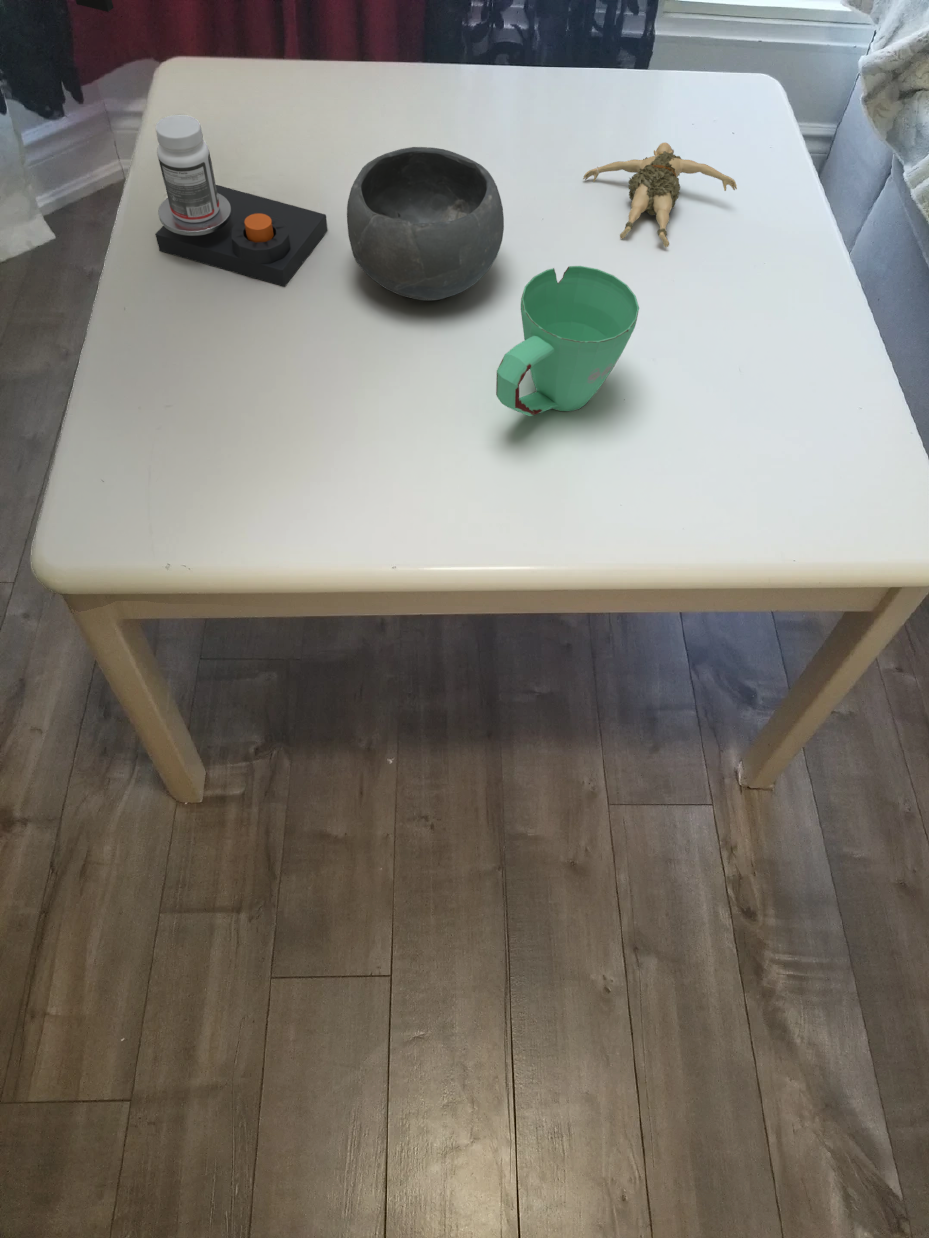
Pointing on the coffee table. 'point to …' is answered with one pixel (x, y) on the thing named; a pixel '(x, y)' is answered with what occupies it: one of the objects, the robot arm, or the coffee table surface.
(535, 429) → the coffee table surface
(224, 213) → the scale pan
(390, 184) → the bowl
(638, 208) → the figurine
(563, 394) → the mug
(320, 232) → the scale
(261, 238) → the button
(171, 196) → the pill bottle
